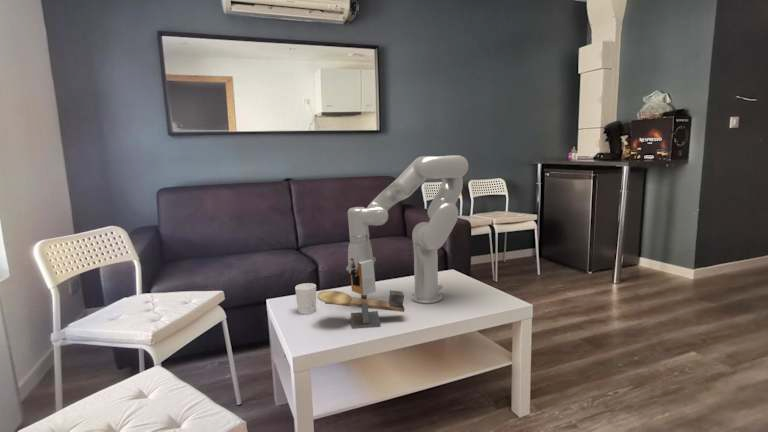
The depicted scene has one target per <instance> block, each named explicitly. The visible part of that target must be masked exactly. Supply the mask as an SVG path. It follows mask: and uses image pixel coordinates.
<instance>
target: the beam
mask: <svg viewBox="0 0 768 432" xmlns="http://www.w3.org/2000/svg"><path fill="white" fill-rule="evenodd" d="M404 298H405V295H404V292H403V291H399V290H389V297H388V301H387V300H379V299H378V300H377V299H370V298H367V299H361V297H360V298H359V297H358V298H357V297H353V296H351V295H350V294H348V293H345V292H343V291H339V290H338V291H337V290H322V291H319V292H318V293H317V295H316V299H318V300H319V301H321V302H322V303H324V304H325V305H335V306H343V307H344V306H345V307H351V308H353V307H354V308H361V309H362V303H368V309H372V310H373V309H374V310H380V311H381V310H382V311H392V312H402V313H405V306H404Z"/></svg>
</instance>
